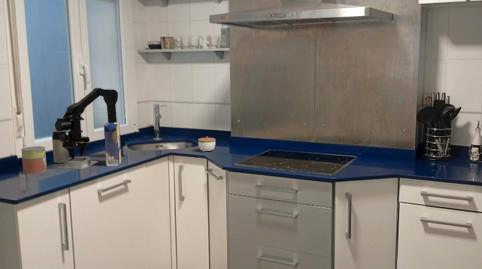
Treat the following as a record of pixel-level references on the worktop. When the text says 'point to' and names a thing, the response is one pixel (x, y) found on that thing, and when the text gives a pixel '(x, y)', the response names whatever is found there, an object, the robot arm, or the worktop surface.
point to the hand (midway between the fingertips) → (77, 157)
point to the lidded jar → (206, 143)
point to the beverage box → (112, 144)
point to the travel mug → (59, 147)
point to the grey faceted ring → (77, 163)
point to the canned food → (34, 160)
